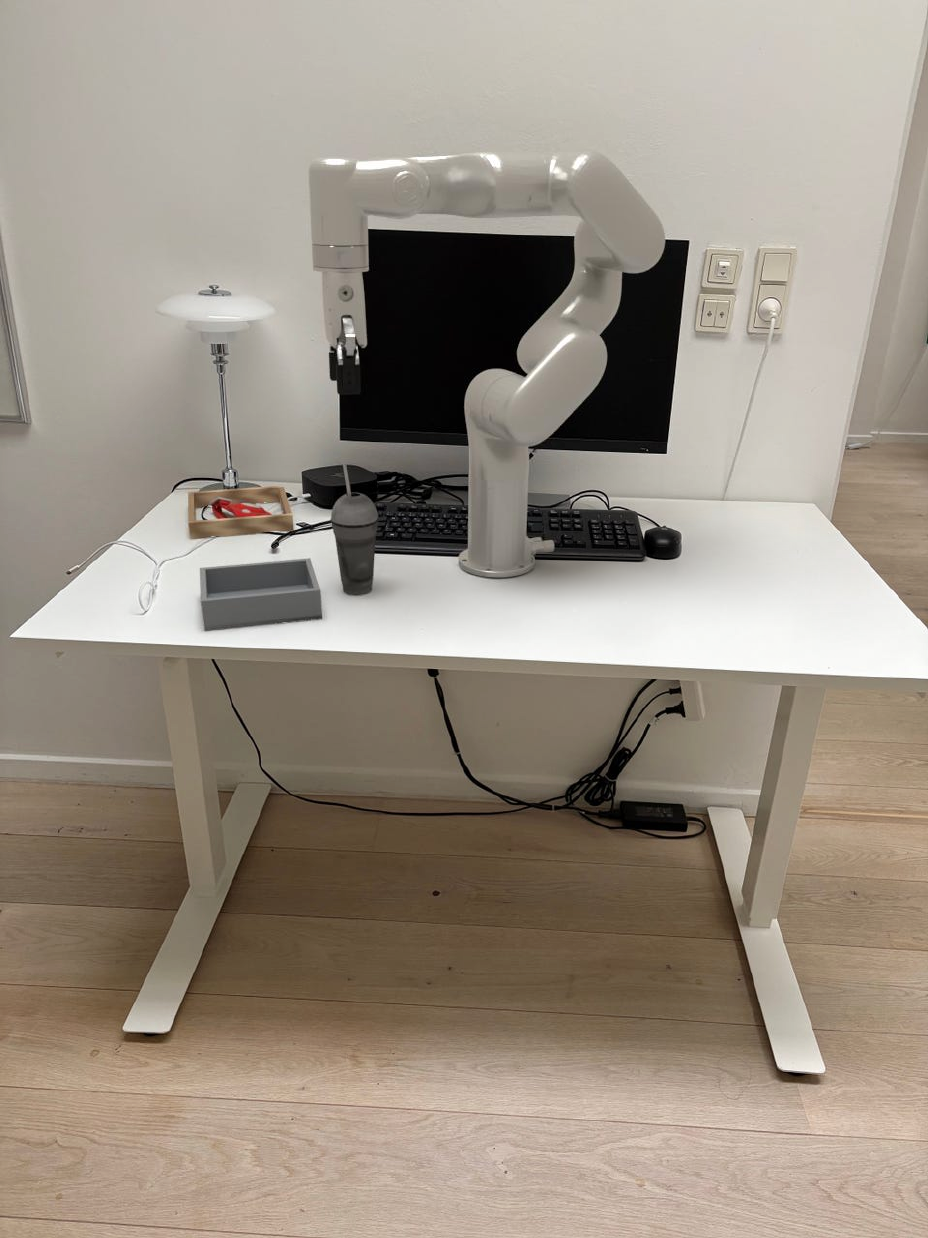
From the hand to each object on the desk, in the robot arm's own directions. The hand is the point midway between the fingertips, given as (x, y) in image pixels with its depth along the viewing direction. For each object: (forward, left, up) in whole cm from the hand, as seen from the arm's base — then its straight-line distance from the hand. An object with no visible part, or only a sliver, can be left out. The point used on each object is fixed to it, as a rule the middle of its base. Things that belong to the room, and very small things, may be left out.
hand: (344, 386), depth 137 cm
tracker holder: (+15, -37, -32) cm, 51 cm away
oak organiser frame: (+16, -37, -31) cm, 51 cm away
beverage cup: (0, +1, -31) cm, 31 cm away
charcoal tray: (+15, +4, -31) cm, 35 cm away
